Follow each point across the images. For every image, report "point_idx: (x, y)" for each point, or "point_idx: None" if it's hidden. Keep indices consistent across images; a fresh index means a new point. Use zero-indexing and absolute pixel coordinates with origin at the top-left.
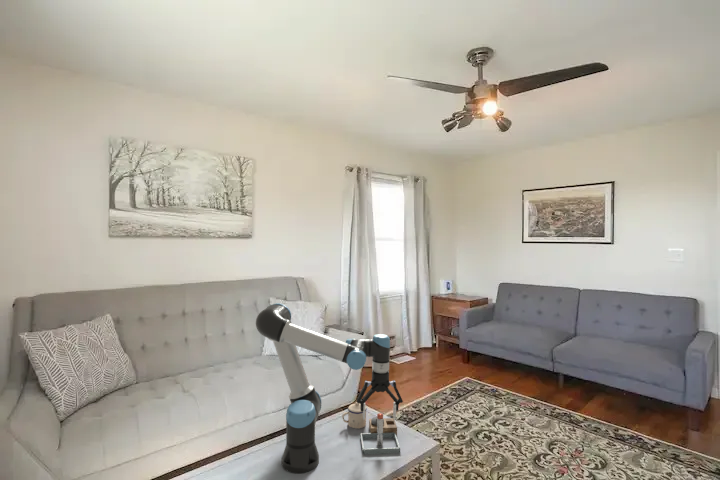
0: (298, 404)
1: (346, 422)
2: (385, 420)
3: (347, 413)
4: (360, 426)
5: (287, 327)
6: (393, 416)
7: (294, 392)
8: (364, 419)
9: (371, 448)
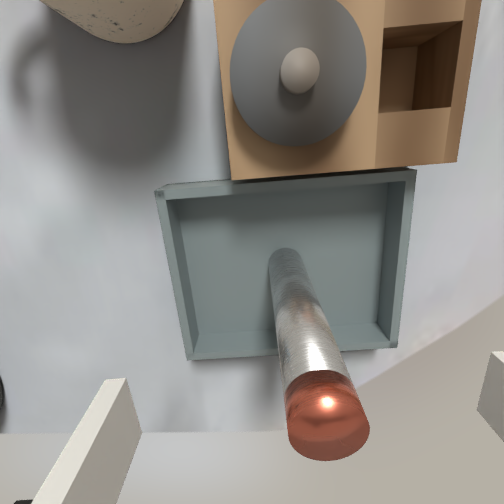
0: None
1: None
2: (381, 12)
3: None
4: (144, 29)
5: None
6: (495, 385)
7: None
8: (136, 434)
9: (234, 352)
